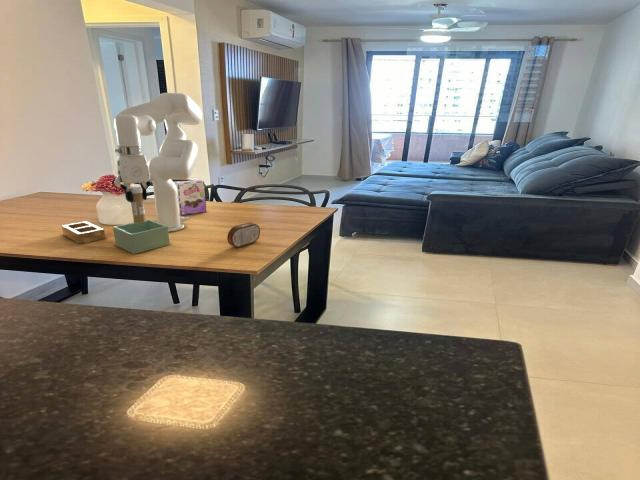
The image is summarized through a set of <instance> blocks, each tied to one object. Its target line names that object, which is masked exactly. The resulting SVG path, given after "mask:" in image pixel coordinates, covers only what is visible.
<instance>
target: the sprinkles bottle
mask: <svg viewBox="0 0 640 480" xmlns="http://www.w3.org/2000/svg"><path fill="white" fill-rule="evenodd" d="M130 191H131V192H132V198H133V202H130V205H131V206H130V207H131V213H132V217H133V218H132V219H133V223H137V224H140V223H145V222H146V220H147V219H146V210H145V203H144V200H143V195H142V192H143V190H142V187H141V186H132V187H131V186H130Z"/></svg>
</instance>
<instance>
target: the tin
mask: <svg viewBox="0 0 640 480" xmlns="http://www.w3.org/2000/svg"><path fill="white" fill-rule="evenodd" d="M260 236H261V228H260V226H259V225H258V224H256V223H254V222H252V221H251V222H246V223H242V224H238V225H234V226H233V227H231V228H230V230H229V231H228V233H227V238H226V240H227V243H228V244H229V245H230V246H231V247H235V248H240V247H244V246H248V245H251V244H254V243H256V242H257V241H258V239H259V238H260Z"/></svg>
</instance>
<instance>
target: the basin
mask: <svg viewBox="0 0 640 480" xmlns="http://www.w3.org/2000/svg"><path fill="white" fill-rule="evenodd" d="M112 229H113V230H112V231H113V237H114V241H115V242H114V243H115V246H117V247H119V248H121V249H123V250H125V251H127V252H129V253H131V254H134V255H135V254H138V253H142V252H147V251H151V250H155V249H159V248H161V247H165V246H169V245H171V243H170V242H171V241H170V233H169V232H168V226H165V225H163V224H160V223H157V221H154V220H151V219H146V222H145V223H140V224H137V223H134V222H129V223H124V224H119V225H115V226H112Z"/></svg>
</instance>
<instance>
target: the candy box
mask: <svg viewBox="0 0 640 480" xmlns="http://www.w3.org/2000/svg"><path fill="white" fill-rule="evenodd" d="M173 182H174V184H175V186H176V188H177V194H178V205H179V215H180V217H183V216H190V215H195V214H203V213H207V202H206V187H205V181H204V180H202V179H193V180H181V181H173Z"/></svg>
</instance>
